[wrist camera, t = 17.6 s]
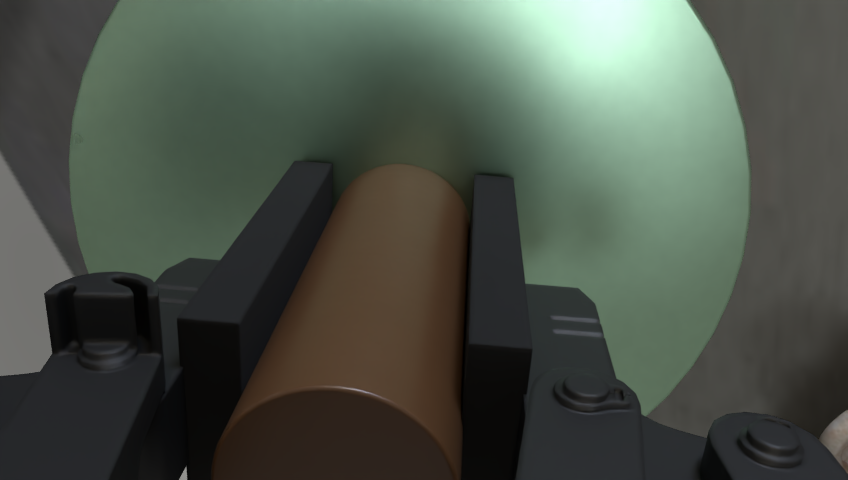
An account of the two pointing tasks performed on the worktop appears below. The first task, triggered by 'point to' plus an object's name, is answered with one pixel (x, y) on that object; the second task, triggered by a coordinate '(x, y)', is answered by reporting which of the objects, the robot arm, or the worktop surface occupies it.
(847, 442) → the cooking pot
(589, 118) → the tin lid
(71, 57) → the worktop surface
